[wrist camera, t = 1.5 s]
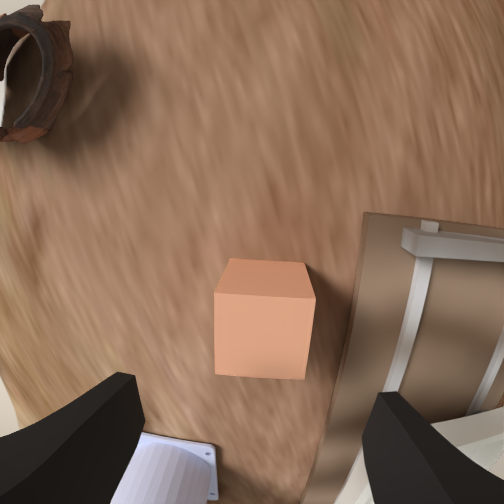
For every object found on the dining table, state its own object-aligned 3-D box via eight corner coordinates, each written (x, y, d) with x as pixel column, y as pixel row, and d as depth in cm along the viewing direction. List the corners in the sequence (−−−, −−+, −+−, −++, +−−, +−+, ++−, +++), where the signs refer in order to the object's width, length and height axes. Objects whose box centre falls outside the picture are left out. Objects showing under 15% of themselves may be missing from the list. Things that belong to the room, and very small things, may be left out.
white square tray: (445, 476, 19) (457, 506, 15) (330, 496, 20) (334, 533, 16) (496, 394, 17) (520, 425, 13) (364, 415, 17) (379, 462, 13)
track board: (430, 492, 23) (437, 510, 20) (296, 510, 24) (297, 532, 21) (545, 235, 15) (571, 245, 12) (363, 211, 16) (382, 220, 13)
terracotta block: (297, 327, 18) (304, 379, 13) (229, 323, 18) (215, 373, 13) (304, 262, 17) (316, 298, 12) (230, 258, 17) (214, 292, 12)
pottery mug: (74, -6, 13) (44, -33, 7) (110, 95, 19) (94, 111, 13) (-46, 77, 12) (-103, 95, 6) (-9, 167, 18) (-53, 212, 12)
